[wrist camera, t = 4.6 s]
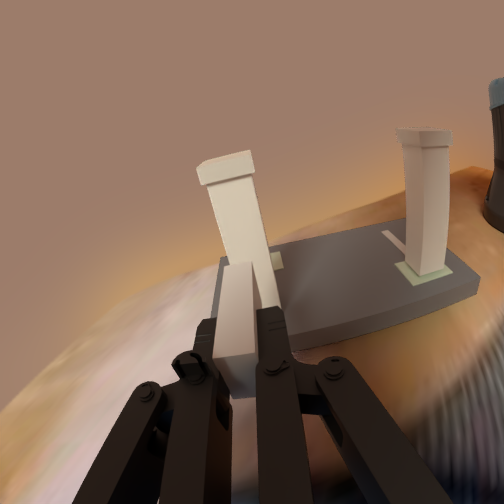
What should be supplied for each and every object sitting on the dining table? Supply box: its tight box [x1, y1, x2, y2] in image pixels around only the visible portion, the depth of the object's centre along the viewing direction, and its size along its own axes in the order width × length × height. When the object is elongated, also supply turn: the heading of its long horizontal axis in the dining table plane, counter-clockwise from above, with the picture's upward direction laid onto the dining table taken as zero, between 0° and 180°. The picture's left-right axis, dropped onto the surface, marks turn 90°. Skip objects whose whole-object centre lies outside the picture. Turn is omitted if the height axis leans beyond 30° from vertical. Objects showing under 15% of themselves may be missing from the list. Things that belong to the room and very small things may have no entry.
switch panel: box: [211, 218, 481, 352], centre depth 27 cm, size 26×16×2 cm, turn 92°
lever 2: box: [396, 127, 453, 276], centre depth 20 cm, size 4×4×13 cm
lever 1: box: [196, 150, 281, 308], centre depth 21 cm, size 4×4×13 cm
